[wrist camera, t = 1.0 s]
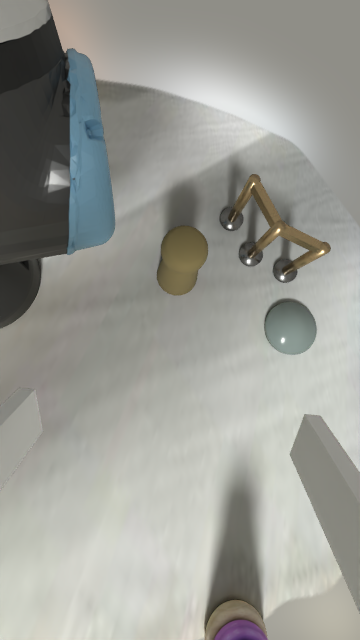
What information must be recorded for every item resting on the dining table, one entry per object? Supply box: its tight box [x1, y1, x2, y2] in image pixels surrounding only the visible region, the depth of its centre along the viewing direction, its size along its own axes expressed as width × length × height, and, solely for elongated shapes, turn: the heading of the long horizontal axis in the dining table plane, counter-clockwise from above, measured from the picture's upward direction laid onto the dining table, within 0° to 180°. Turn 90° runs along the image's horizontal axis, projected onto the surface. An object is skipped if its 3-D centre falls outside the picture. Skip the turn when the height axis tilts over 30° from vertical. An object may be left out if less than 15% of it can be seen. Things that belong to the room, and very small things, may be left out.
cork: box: [157, 226, 208, 295], centre depth 29 cm, size 6×6×11 cm
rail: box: [220, 174, 331, 283], centre depth 32 cm, size 15×8×9 cm, turn 66°
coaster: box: [265, 302, 317, 355], centre depth 35 cm, size 8×8×1 cm
